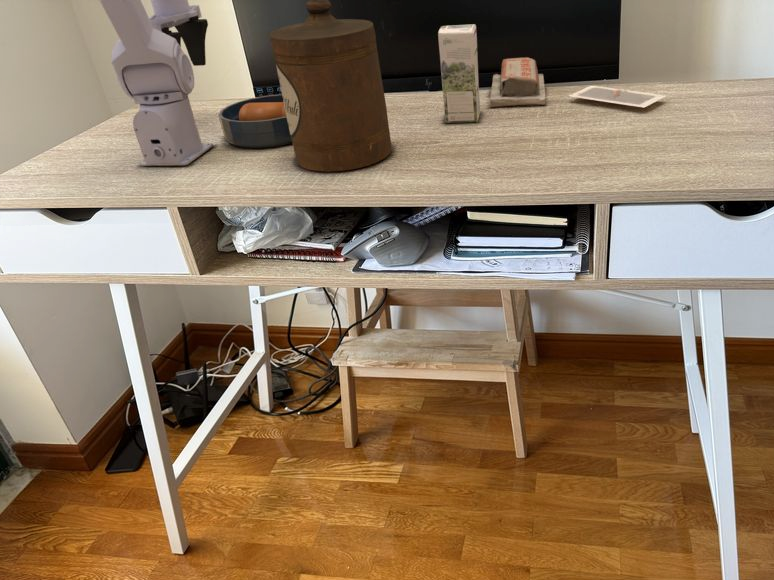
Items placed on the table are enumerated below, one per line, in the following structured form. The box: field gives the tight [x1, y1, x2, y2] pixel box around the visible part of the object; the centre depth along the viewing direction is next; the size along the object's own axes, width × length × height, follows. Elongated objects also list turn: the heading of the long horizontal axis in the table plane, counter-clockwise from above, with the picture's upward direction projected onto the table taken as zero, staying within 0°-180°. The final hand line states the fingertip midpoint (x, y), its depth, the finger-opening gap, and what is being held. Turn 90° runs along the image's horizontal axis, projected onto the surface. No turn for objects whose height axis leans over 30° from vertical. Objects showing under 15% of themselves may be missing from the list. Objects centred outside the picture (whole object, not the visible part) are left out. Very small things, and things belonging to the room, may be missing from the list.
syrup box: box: [437, 23, 481, 124], centre depth 112 cm, size 6×6×14 cm
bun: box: [239, 102, 286, 121], centre depth 115 cm, size 11×5×5 cm, turn 81°
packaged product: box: [489, 56, 547, 108], centre depth 126 cm, size 18×5×10 cm
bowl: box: [217, 93, 293, 149], centre depth 115 cm, size 16×16×4 cm
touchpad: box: [568, 85, 667, 109], centre depth 118 cm, size 8×15×2 cm, turn 49°
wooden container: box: [269, 0, 393, 173], centre depth 98 cm, size 15×15×22 cm
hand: (189, 70), depth 118 cm, fingers open, 7 cm apart
